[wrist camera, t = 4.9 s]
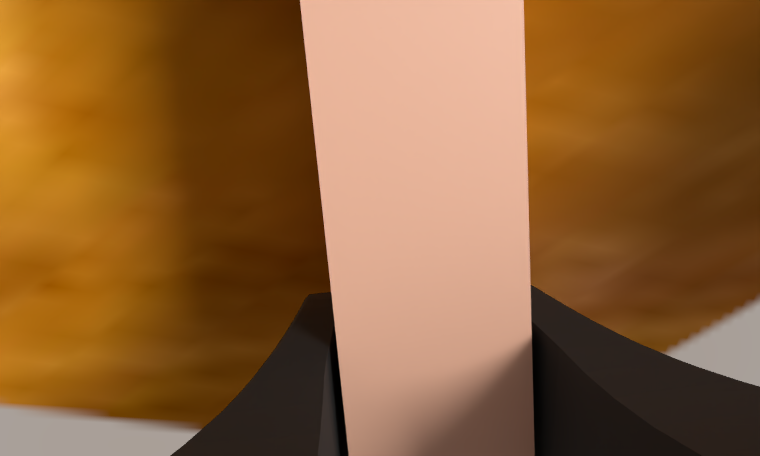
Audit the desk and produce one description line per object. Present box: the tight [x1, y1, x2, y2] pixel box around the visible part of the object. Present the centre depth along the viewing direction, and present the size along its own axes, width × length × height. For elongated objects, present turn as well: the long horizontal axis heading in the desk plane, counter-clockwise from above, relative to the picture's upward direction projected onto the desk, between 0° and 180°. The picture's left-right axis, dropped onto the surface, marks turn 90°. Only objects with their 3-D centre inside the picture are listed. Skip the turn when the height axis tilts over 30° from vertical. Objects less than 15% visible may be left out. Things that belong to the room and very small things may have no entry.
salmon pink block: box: [300, 0, 535, 456], centre depth 10 cm, size 3×12×6 cm, turn 4°
